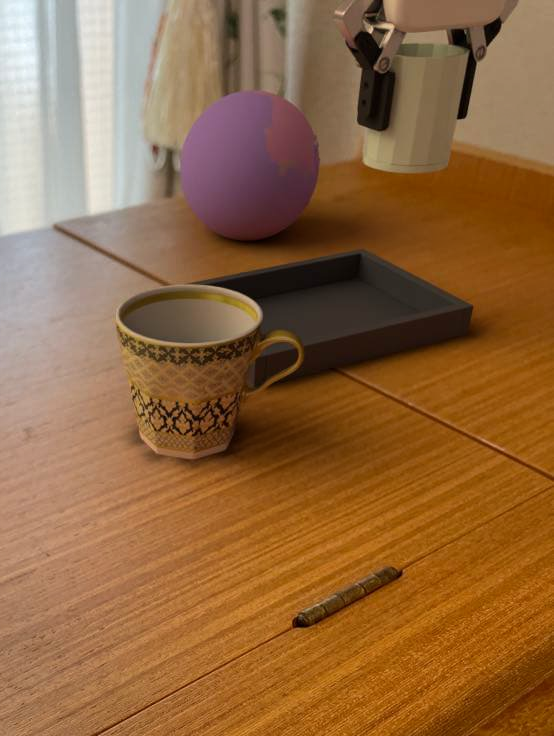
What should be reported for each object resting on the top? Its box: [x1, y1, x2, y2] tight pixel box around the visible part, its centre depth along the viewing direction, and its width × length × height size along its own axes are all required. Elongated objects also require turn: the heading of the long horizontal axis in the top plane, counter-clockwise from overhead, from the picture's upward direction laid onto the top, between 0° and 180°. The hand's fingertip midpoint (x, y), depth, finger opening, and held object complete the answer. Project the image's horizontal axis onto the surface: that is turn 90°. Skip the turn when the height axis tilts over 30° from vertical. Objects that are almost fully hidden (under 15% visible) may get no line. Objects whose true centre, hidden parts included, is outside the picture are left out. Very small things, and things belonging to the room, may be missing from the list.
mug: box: [361, 41, 470, 175], centre depth 69 cm, size 10×7×8 cm
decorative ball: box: [179, 89, 321, 242], centre depth 94 cm, size 15×15×15 cm
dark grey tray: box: [181, 248, 475, 388], centre depth 79 cm, size 22×16×3 cm
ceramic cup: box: [114, 283, 305, 460], centre depth 61 cm, size 13×10×10 cm
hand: (411, 119), depth 68 cm, fingers closed on mug, 6 cm apart
